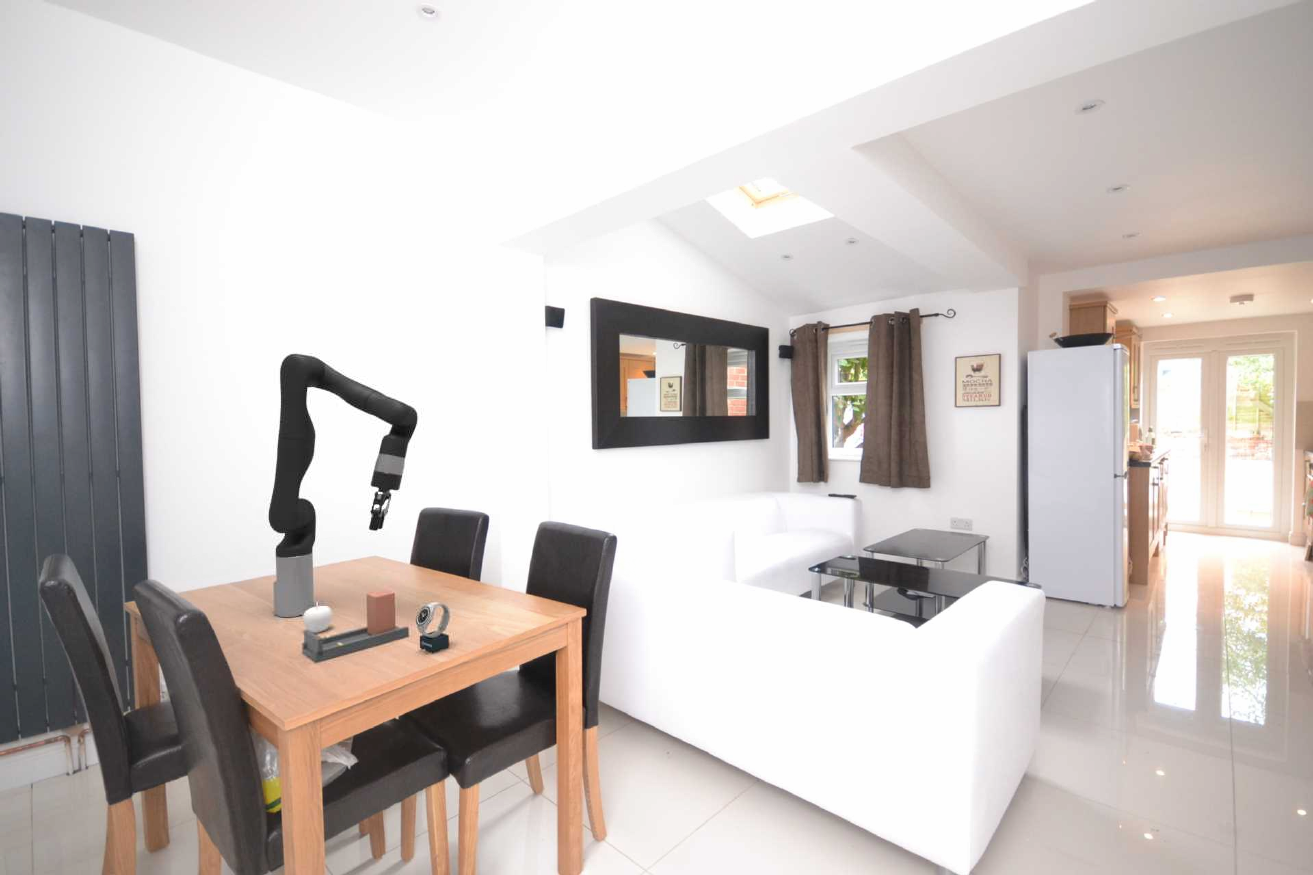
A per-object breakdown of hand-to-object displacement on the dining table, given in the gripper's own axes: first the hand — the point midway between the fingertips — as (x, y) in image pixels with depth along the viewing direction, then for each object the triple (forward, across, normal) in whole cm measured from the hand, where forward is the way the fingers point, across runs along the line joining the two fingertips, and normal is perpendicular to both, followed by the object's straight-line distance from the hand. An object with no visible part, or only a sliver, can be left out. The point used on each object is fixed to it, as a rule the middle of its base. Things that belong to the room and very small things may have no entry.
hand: (375, 529), depth 166 cm
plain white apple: (+28, 0, -8) cm, 30 cm away
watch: (+25, +23, +22) cm, 40 cm away
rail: (+28, +15, +3) cm, 32 cm away
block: (+25, +12, +8) cm, 28 cm away
